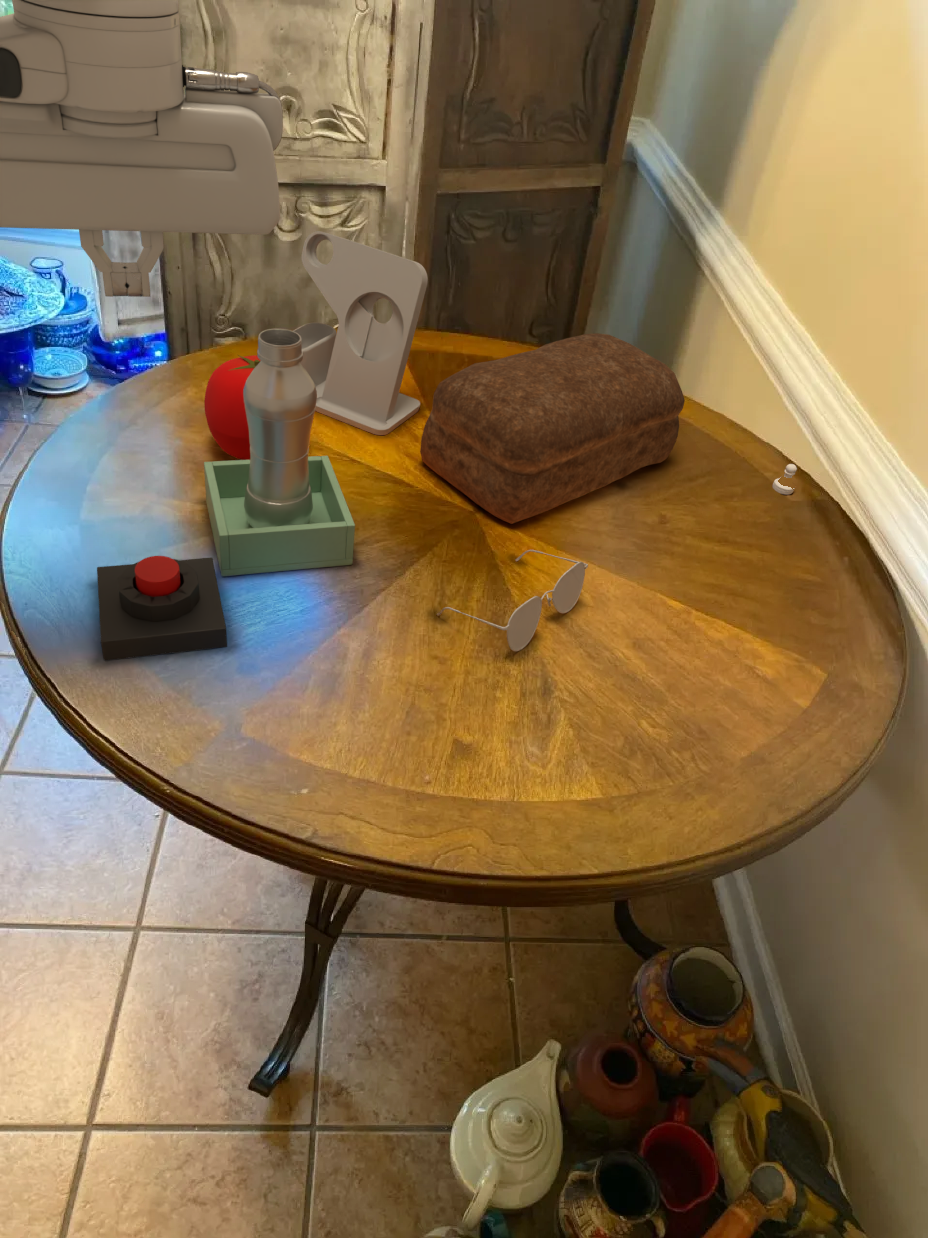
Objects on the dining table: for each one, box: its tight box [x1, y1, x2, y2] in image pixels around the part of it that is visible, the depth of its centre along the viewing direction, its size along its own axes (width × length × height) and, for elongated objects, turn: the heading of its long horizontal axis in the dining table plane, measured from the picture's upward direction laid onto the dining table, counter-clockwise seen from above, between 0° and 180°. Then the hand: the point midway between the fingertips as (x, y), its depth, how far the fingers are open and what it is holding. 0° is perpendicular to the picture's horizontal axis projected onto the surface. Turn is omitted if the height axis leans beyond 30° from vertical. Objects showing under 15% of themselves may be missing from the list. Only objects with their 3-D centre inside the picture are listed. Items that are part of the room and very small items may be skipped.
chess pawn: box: [771, 463, 798, 495], centre depth 112 cm, size 3×3×4 cm
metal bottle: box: [243, 328, 317, 528], centre depth 85 cm, size 6×7×20 cm
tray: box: [203, 455, 356, 577], centre depth 91 cm, size 13×13×5 cm
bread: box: [419, 332, 686, 525], centre depth 106 cm, size 17×30×13 cm, turn 131°
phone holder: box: [292, 230, 429, 436], centre depth 109 cm, size 17×10×18 cm, turn 62°
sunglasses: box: [436, 549, 589, 652], centre depth 87 cm, size 14×8×5 cm, turn 141°
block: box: [96, 557, 228, 662], centre depth 80 cm, size 10×10×4 cm
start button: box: [135, 555, 181, 597], centre depth 78 cm, size 4×4×2 cm
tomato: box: [203, 354, 261, 460], centre depth 100 cm, size 10×11×11 cm
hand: (127, 293), depth 62 cm, fingers closed
